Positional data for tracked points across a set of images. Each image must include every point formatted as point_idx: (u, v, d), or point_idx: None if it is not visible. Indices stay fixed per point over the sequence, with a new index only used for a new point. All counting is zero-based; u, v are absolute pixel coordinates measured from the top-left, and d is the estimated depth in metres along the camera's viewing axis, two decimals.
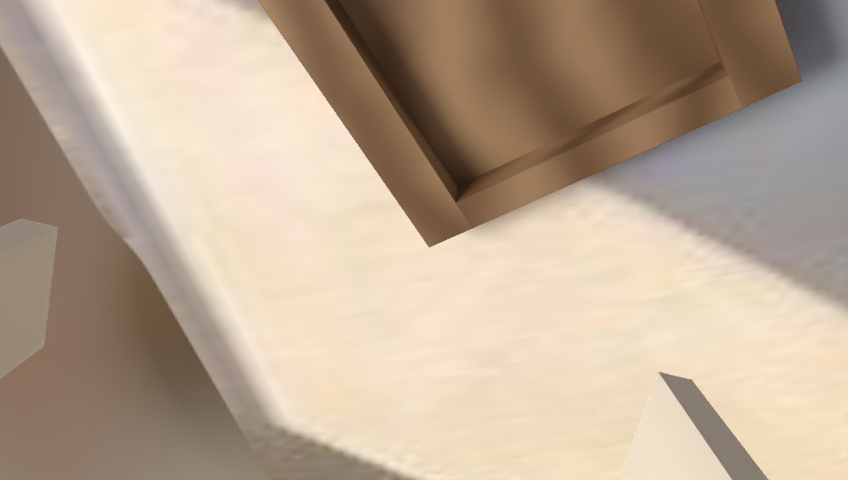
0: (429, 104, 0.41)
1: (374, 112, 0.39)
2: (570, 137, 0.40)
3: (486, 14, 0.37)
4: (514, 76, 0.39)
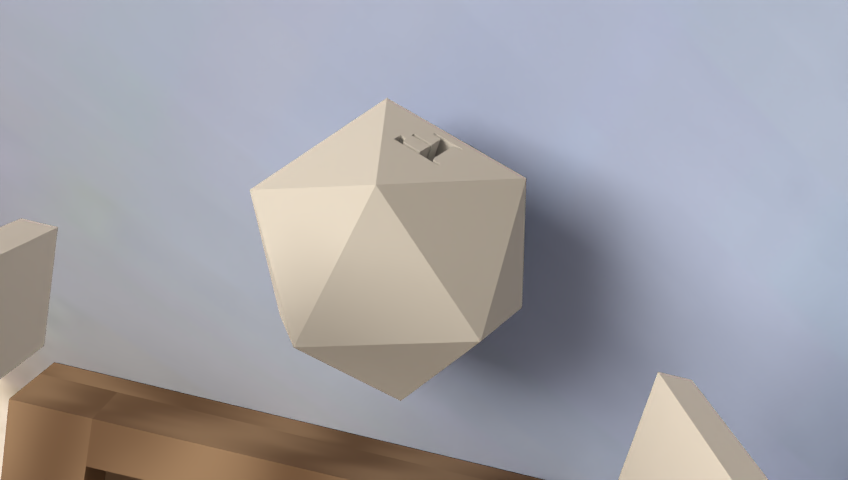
0: None
1: None
2: None
3: None
4: None
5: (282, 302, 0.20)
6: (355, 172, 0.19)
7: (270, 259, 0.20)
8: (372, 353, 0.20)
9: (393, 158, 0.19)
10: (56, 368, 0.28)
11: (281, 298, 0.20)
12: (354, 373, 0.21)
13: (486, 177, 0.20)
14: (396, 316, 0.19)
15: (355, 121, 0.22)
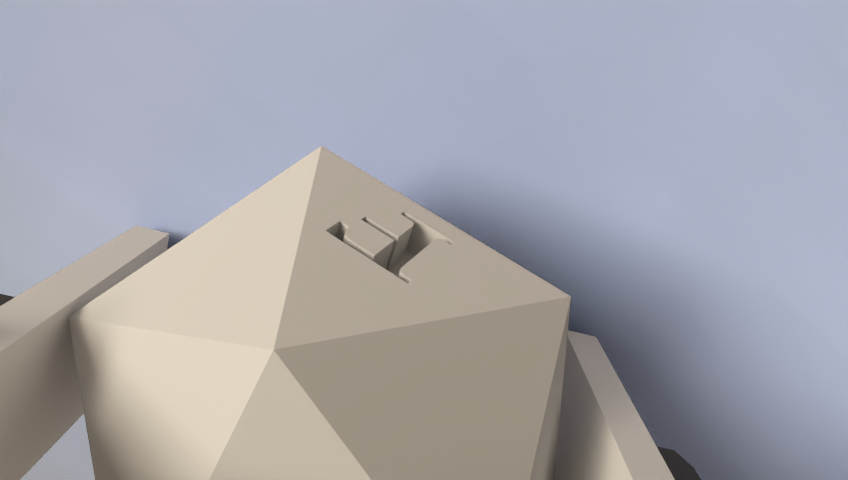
0: None
1: None
2: None
3: None
4: None
5: None
6: (243, 307, 0.10)
7: (93, 458, 0.11)
8: None
9: (320, 276, 0.10)
10: None
11: None
12: None
13: (499, 303, 0.11)
14: None
15: (263, 189, 0.12)
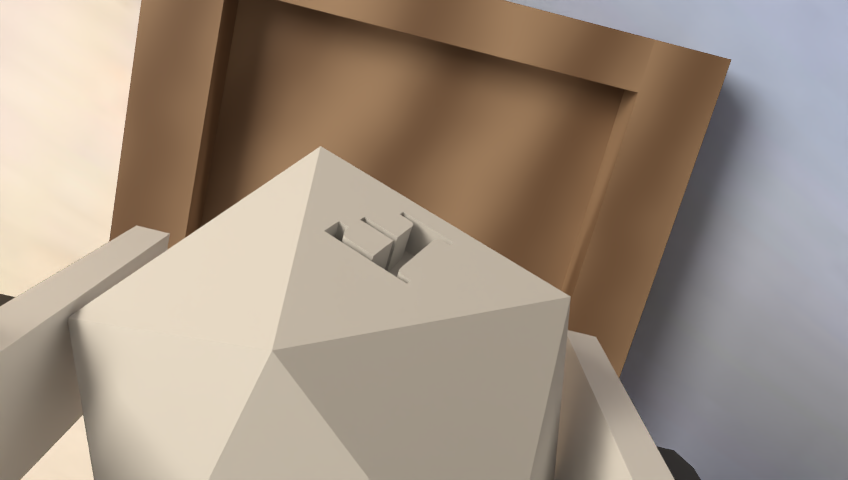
0: (233, 203, 0.31)
1: (169, 159, 0.28)
2: None
3: (366, 168, 0.30)
4: None
5: None
6: (242, 308, 0.10)
7: (92, 459, 0.11)
8: None
9: (318, 276, 0.10)
10: None
11: None
12: None
13: (499, 303, 0.11)
14: None
15: (262, 189, 0.12)
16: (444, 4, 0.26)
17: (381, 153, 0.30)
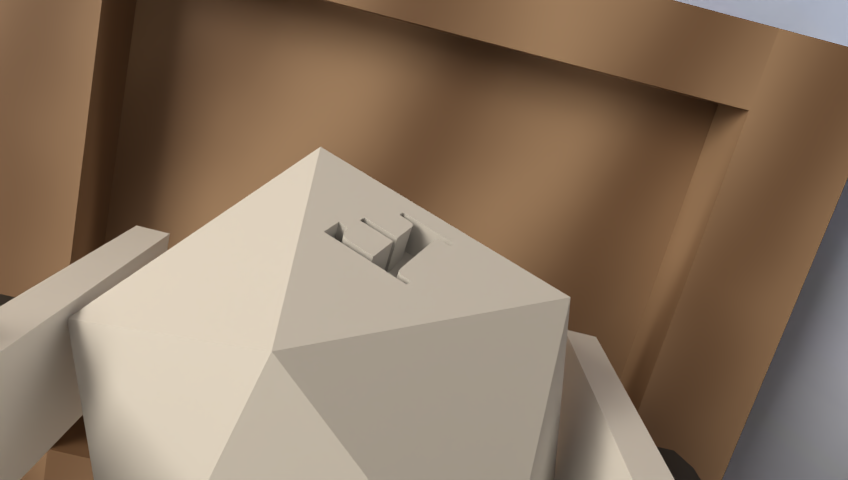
0: None
1: (33, 208, 0.19)
2: None
3: None
4: None
5: None
6: (241, 309, 0.10)
7: (92, 460, 0.11)
8: None
9: (318, 277, 0.10)
10: None
11: None
12: None
13: (498, 304, 0.11)
14: None
15: (262, 190, 0.12)
16: None
17: None
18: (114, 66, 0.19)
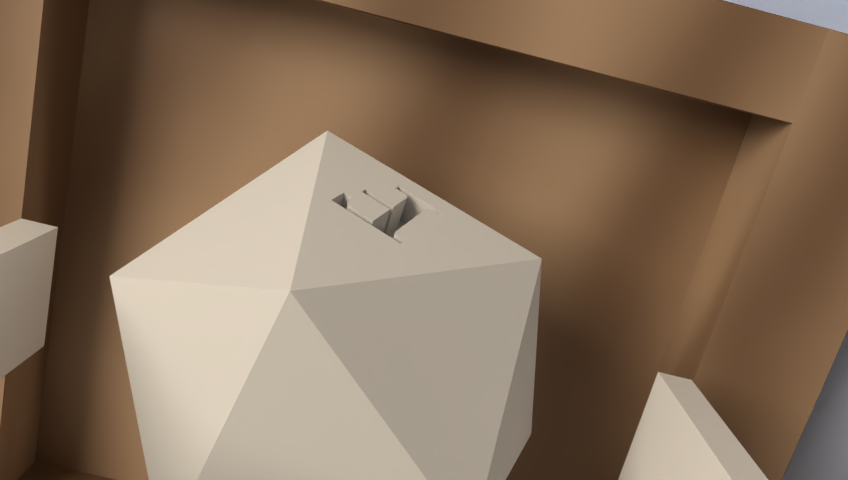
0: (101, 296, 0.19)
1: None
2: None
3: None
4: None
5: (148, 469, 0.12)
6: (264, 261, 0.11)
7: (133, 393, 0.13)
8: None
9: (327, 236, 0.12)
10: None
11: (147, 461, 0.12)
12: None
13: (479, 261, 0.13)
14: None
15: (277, 167, 0.14)
16: None
17: None
18: (63, 72, 0.16)
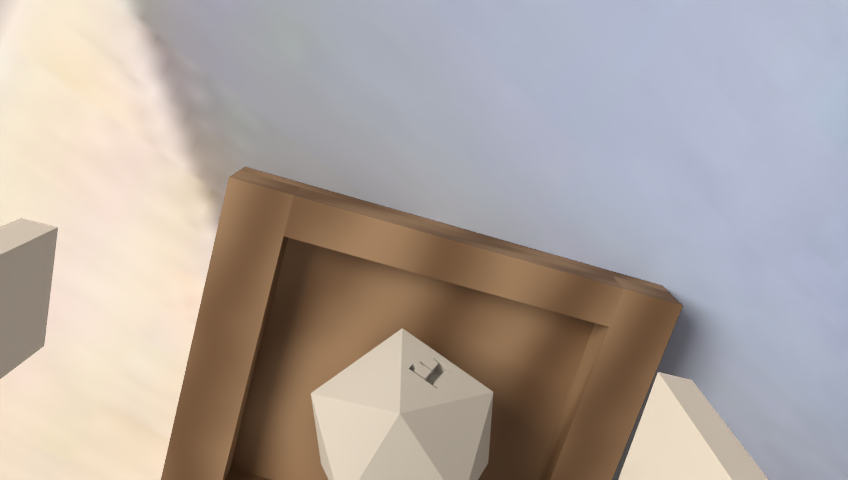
0: (275, 386, 0.37)
1: (227, 363, 0.34)
2: None
3: None
4: None
5: (333, 476, 0.30)
6: (385, 397, 0.30)
7: (325, 445, 0.31)
8: None
9: (409, 387, 0.30)
10: (249, 169, 0.35)
11: (333, 473, 0.30)
12: None
13: (467, 395, 0.31)
14: None
15: (381, 345, 0.33)
16: (457, 256, 0.33)
17: None
18: (273, 286, 0.35)
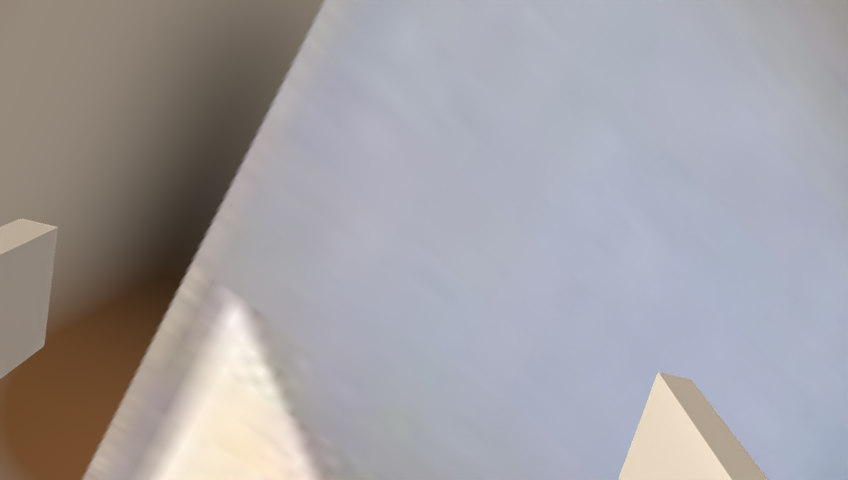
0: None
1: None
2: None
3: None
4: None
5: None
6: None
7: None
8: None
9: None
10: None
11: None
12: None
13: None
14: None
15: None
16: None
17: None
18: None
